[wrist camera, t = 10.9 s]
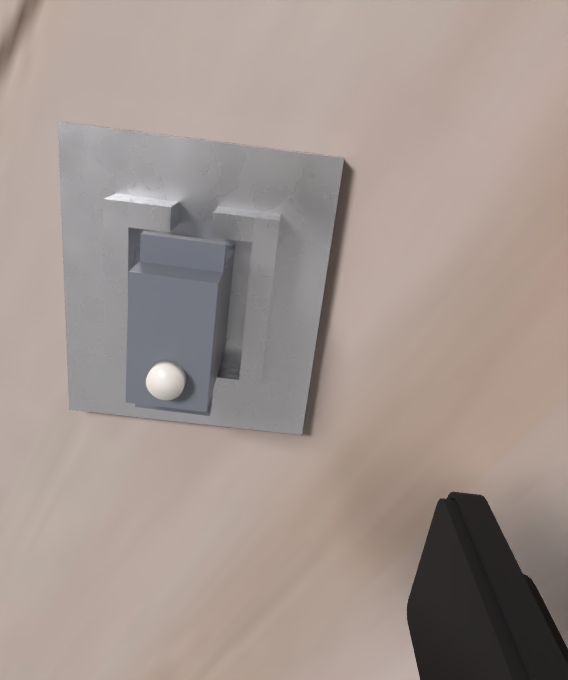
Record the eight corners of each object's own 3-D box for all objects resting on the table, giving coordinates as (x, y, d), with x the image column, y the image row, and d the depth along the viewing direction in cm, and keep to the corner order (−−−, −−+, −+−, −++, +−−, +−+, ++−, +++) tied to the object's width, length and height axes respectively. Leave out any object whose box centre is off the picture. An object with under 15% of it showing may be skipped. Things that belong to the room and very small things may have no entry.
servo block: (167, 213, 27) (124, 245, 20) (237, 223, 27) (218, 257, 20) (160, 361, 31) (121, 432, 23) (222, 369, 31) (202, 442, 24)
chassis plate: (66, 122, 27) (39, 122, 24) (342, 156, 27) (348, 160, 24) (75, 401, 33) (55, 427, 30) (301, 426, 33) (302, 453, 30)
